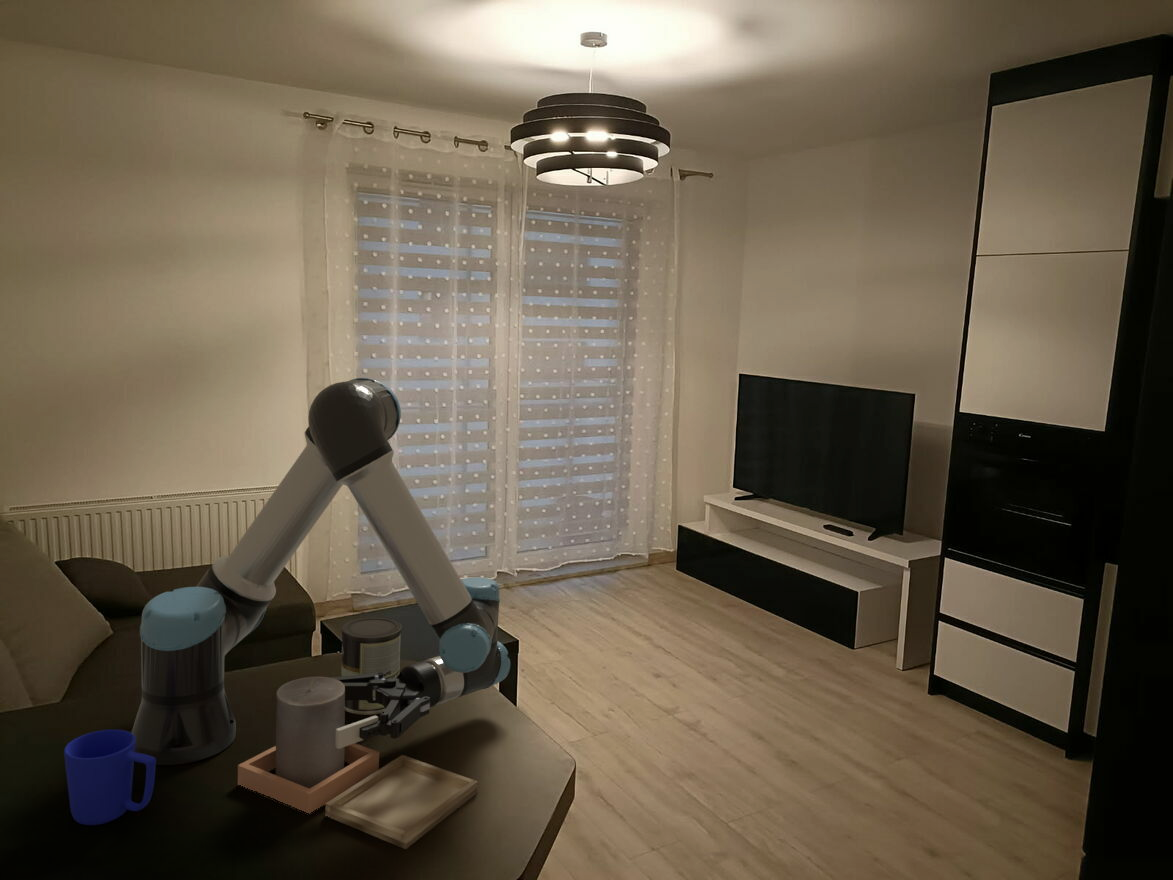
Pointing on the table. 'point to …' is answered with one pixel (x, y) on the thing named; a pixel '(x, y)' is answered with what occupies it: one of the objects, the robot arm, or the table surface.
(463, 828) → the table surface
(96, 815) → the mug
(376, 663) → the coffee can
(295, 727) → the pillar candle
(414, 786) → the tray
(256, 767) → the holder
